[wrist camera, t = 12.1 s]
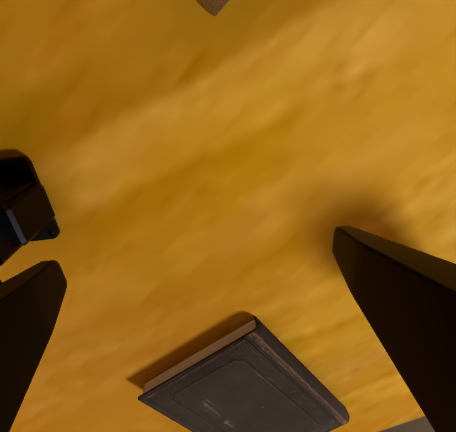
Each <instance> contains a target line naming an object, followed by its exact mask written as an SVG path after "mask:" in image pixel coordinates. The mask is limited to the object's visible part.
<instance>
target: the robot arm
mask: <svg viewBox="0 0 456 432" xmlns="http://www.w3.org/2000/svg"><path fill="white" fill-rule="evenodd" d="M21 162H23V163H24V164H25V167H24V166H22V165H21ZM54 216H55V214H54V212H53V209H52V207H51V204H50V202H49V199H48V197H47V194H46V192H45V190H44V187H43V186H42V185H41V184H40V181H39V179H38V176H37V174H36V172H35V169H34V167H33V164H32V162H31V161H30V159H28V158H27V157H24V156H20V157H10V158H0V266H1V265H3V264H4V263H5V262H6V261H7V260H8V259H9V258H10V257H11V256H12V255H13V254H14V253H15V252H16V251H17V250H18V249H19V248H20V247H21V246H23V245H26V244H27V243H28V242H29V241H38V240H46V239H54V238H56V237H57V236H58V235H59V233H60V230H59V228H58V225H57V223H56V220H55V218H54ZM50 231H53V232H54V234H53V233H51V232H50ZM332 250H333V255H334V257H335V259H336V261H337V264H338V266H339V268H340V270H341V272H342V275H343V277H344V279H345V281H346V283H347V285H348V288H349V290H350V292H351V293H352V295H353V297H354V299H355V300H356V302H357V304H358V305H359V307H360V309H361V310H362V312H363V314H364V315H365V317H366V318H367V320H368V322H369V323H370V325H371V327H372V328H373V330H374V332H375V333H376V335H377V337H378V338H379V340H380V342H381V343H382V345H383V347H384V348H385V350H386V352H387V353H388V355H389V356H390V358H391V360H392V361H393V363H394V365H395V366H396V368H397V370H398V371H399V373H400V375H401V376H402V378H403V380H404V381H405V383H406V385H407V386H408V388H409V389H410V391H411V393H412V394H413V396H414V398H415V399H416V401H417V403H418V404H419V406H420V408H421V409H422V411H423V413H424V414H425V416H426V417H427V419H428V421H429V422H430V424H431V426H432V427H433V429H434V431H435V432H456V264H455V263H452V262H449V261H446V260H443V259H441V258H438V257H435V256H432V255H429V254H427V253H424V252H421V251H418V250H415V249H413V248H410V247H407V246H404V245H401V244H399V243H396V242H393V241H390V240H387V239H385V238H382V237H379V236H376V235H373V234H371V233H368V232H365V231H362V230H359V229H357V228H354V227H351V226H340V227H337V228H335V231H334V238H333V248H332ZM66 288H67V281H66V278H65V276H64V274H63V271H62V269H61V267H60V265H59V263H58V262H57V261H55V260H50V261H42V262H40V263H38V264H36V265H34V266H32V267H31V268H29V269H27V270H25V271H23V272H21V273H20V274H18V275H16V276H14V277H12V278H10V279H9V280H7V281H5V282H3V283H2V282H1V281H0V432H9V431H10V429H11V427H12V424H13V422H14V420H15V417H16V415H17V413H18V411H19V408H20V406H21V404H22V401H23V399H24V397H25V394H26V392H27V390H28V388H29V385H30V383H31V381H32V378H33V376H34V374H35V372H36V369H37V367H38V365H39V362H40V360H41V358H42V355H43V353H44V351H45V349H46V346H47V344H48V342H49V339H50V337H51V335H52V332H53V329H54V326H55V324H56V320H57V317H58V314H59V311H60V308H61V304H62V301H63V298H64V295H65V292H66Z"/></svg>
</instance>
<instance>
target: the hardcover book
mask: <svg viewBox="0 0 456 432" xmlns="http://www.w3.org/2000/svg"><path fill="white" fill-rule="evenodd" d="M138 400H139V401H141V402H143V403H145V404H146V405H148V406H150V407H151V408H153V409H155V410H156V411H158V412H160V413H162V414H163V415H165V416H167V417H168V418H170V419H172V420H173V421H175V422H177V423H179V424H180V425H182V426H184V427H185V428H187V429H189V430H190V431H192V432H329V431H331V430H334V429H336V428H338V427H340V426H342V425H344V424H346V423H348V421H349V414H348V411H347V409H346V408H345V406H344V405H343V404H342V403H341V402H340V401H339V400H338V399H337V398H336V397H335V396H334V395H333V394H332V393H331V392H330V391H329V390H328V389H327V388H326V387H325V386H324V385H323V384H322V383H321V382H320V381H319V380H318V379H317V378H316V377H315V376H314V375H313V374H312V373H311V372H310V371H309V370H308V369H307V368H306V367H305V366H304V365H303V364H302V363H301V362H300V361H299V360H298V359H297V358H296V357H295V356H294V355H293V354H292V353H291V352H290V351H289V350H288V349H287V348H286V347H285V346H284V345H283V344H282V343H281V342H280V341H279V340H278V339H277V338H276V337H275V336H274V335H273V334H272V333H271V332H270V331H269V330H268V329H267V328H266V327H265V326H264V325H263V324H262V323H261V322H260V321H259V320H258V319H257V317H256V316H254V319H253V320H251V321H250V322H248V323H246V324H245V325H243V326H241V327H239V328H238V329H236V330H234V331H233V332H231V333H229V334H228V335H226V336H224V337H223V338H221V339H219V340H217V341H216V342H214V343H212V344H211V345H209V346H207V347H206V348H204V349H202V350H200V351H199V352H197V353H195V354H194V355H192V356H190V357H189V358H187V359H185V360H184V361H182V362H180V363H178V364H177V365H175V366H173V367H172V368H170V369H168V370H167V371H165V372H163V373H162V374H160V375H158V376H156V377H155V378H153V379H151V380H150V381H148V382H146V383H145V385H144V391H143V394H142V395H140V396H138Z"/></svg>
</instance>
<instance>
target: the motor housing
mask: <svg viewBox="0 0 456 432" xmlns="http://www.w3.org/2000/svg"><path fill="white" fill-rule="evenodd" d="M196 1H197V2H198V3H199V4H200V5H201V6H202V7H203V8H204V9H205V10H206V11H207V12H208V13H210V14H211V15H213V16H216V15H217V14H218V12H219V11H220V10H221V9H222V8H223V7H224V5H225V4H226V3H227V2H228V1H229V0H196Z"/></svg>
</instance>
